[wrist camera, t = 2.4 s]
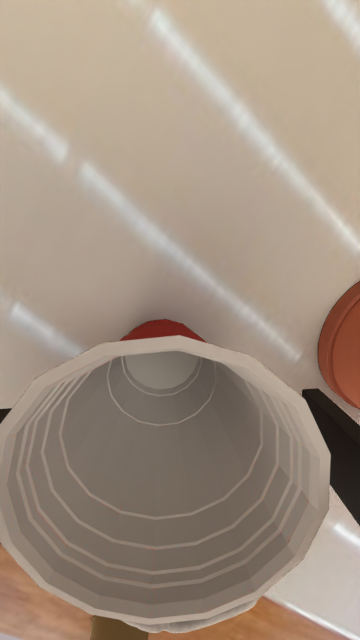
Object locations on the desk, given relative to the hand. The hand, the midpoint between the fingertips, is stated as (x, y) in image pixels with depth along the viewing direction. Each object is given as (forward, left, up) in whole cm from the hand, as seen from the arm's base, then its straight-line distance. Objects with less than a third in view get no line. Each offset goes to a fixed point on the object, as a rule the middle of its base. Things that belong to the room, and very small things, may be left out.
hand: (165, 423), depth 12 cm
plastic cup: (0, 0, -8) cm, 8 cm away
